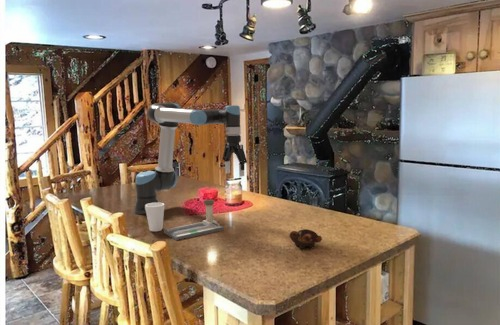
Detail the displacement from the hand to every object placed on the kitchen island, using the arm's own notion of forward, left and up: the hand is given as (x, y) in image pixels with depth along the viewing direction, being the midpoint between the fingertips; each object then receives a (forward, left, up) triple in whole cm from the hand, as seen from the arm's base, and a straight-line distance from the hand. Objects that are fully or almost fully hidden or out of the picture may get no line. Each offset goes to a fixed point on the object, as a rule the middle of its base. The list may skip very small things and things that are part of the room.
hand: (234, 174), depth 217 cm
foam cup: (-12, -41, -26) cm, 50 cm away
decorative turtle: (+53, +2, -26) cm, 59 cm away
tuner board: (+3, -28, -25) cm, 38 cm away
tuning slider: (+5, -18, -24) cm, 30 cm away
